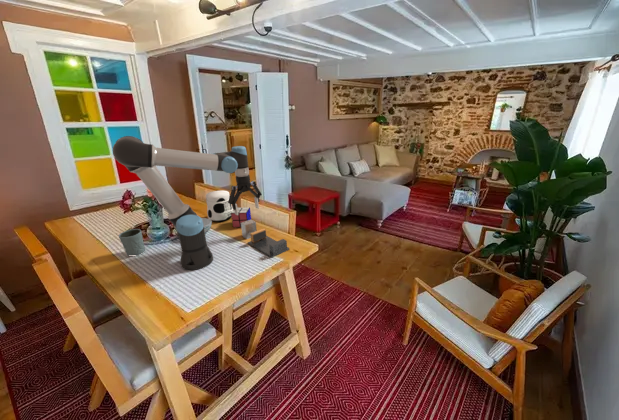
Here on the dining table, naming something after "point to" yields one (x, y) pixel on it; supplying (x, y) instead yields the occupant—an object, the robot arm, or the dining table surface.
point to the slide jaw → (258, 235)
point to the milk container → (218, 205)
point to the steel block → (248, 228)
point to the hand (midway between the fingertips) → (247, 211)
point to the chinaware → (206, 224)
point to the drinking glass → (132, 241)
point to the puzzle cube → (240, 216)
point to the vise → (270, 246)
